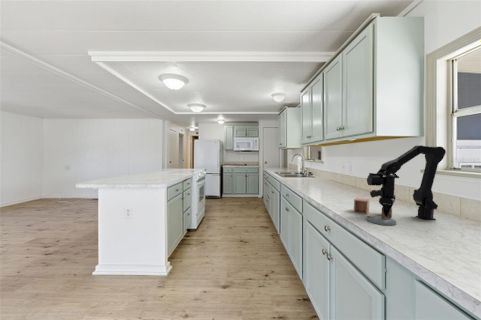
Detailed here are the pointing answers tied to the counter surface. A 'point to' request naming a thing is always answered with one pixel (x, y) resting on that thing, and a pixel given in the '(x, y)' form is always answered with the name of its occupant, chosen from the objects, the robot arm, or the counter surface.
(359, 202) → the terracotta hood
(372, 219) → the slate dish
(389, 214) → the walnut block
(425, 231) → the counter surface
